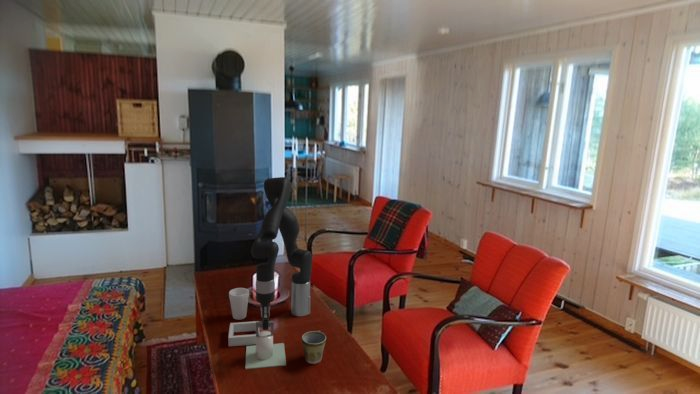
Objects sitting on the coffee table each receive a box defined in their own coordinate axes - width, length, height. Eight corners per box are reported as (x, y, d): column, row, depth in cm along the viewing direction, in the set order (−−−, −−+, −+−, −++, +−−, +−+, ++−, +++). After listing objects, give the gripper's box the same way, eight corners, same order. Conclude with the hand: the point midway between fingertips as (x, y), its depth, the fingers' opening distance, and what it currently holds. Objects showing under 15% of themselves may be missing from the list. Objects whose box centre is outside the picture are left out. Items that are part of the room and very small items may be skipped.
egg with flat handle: (255, 351, 177) (256, 318, 174) (272, 349, 178) (273, 317, 175) (255, 360, 170) (255, 326, 167) (273, 359, 172) (273, 325, 169)
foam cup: (251, 312, 210) (251, 288, 208) (245, 321, 201) (245, 296, 199) (233, 311, 211) (233, 287, 209) (226, 320, 202) (225, 295, 200)
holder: (259, 328, 195) (259, 321, 195) (259, 344, 183) (259, 335, 182) (230, 331, 193) (230, 323, 192) (228, 346, 180) (228, 338, 179)
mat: (283, 343, 184) (283, 343, 184) (286, 365, 169) (286, 364, 168) (246, 346, 180) (246, 346, 180) (245, 369, 165) (245, 368, 165)
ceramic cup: (322, 368, 168) (322, 345, 166) (298, 364, 170) (298, 341, 168) (330, 350, 180) (330, 329, 178) (307, 347, 182) (308, 326, 180)
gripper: (275, 295, 163) (275, 336, 166) (274, 281, 176) (274, 319, 179) (255, 296, 161) (255, 338, 165) (255, 282, 174) (256, 321, 178)
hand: (265, 328), depth 172 cm, fingers closed on egg with flat handle
